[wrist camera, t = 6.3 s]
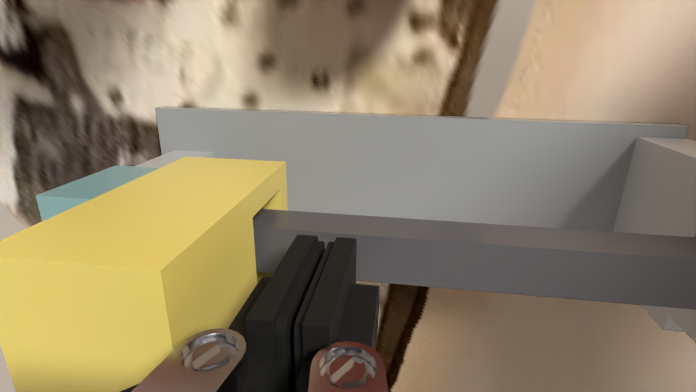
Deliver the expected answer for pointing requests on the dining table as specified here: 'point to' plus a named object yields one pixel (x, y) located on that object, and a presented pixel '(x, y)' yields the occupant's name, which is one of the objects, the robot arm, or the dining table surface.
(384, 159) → the grey long frame
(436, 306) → the dining table surface
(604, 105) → the dining table surface
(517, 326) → the dining table surface
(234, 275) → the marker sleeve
